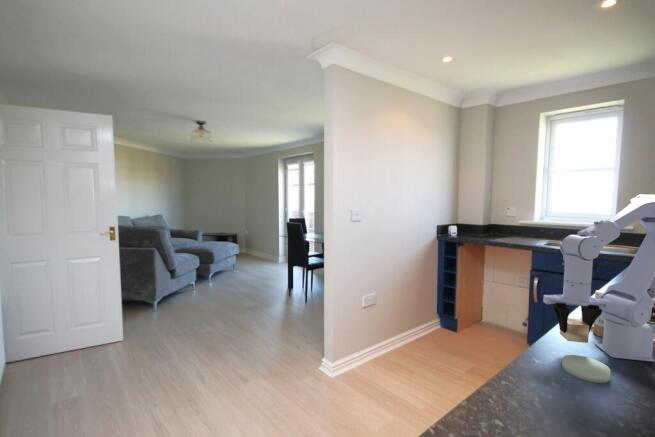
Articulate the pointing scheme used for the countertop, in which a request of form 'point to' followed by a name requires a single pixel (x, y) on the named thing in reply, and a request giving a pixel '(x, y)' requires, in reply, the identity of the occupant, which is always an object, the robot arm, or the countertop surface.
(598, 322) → the sprinkles bottle
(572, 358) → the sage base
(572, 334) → the beech cube
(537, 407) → the countertop surface
